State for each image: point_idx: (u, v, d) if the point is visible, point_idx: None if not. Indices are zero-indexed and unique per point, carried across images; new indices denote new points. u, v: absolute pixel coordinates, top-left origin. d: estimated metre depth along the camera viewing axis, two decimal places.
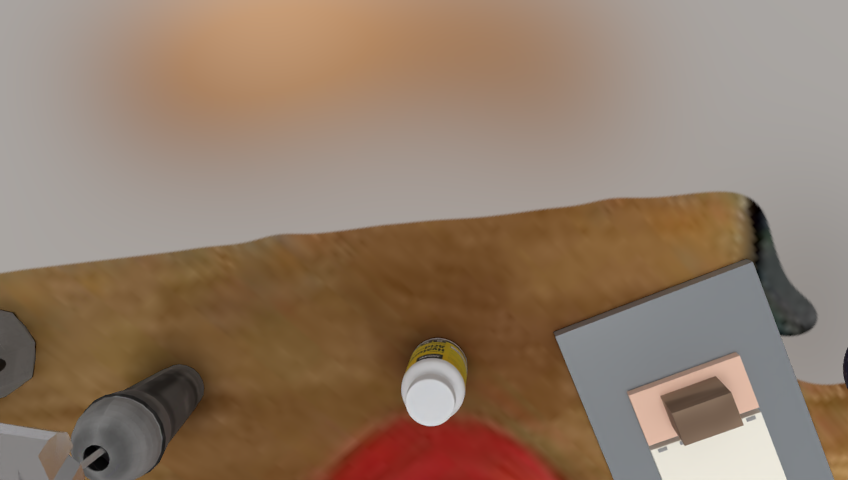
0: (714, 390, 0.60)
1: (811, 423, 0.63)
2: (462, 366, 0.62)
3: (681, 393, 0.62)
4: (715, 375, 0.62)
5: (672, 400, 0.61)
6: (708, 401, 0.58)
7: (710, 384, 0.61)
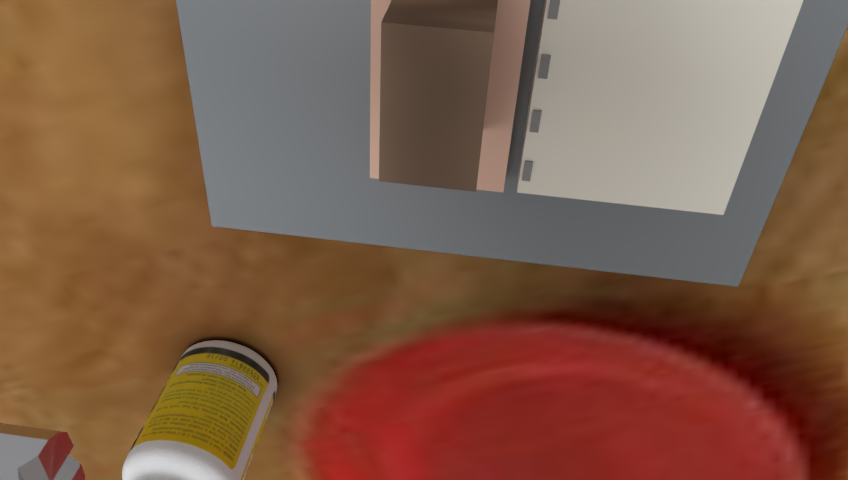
0: None
1: None
2: (187, 400, 0.33)
3: None
4: None
5: None
6: (381, 90, 0.20)
7: None
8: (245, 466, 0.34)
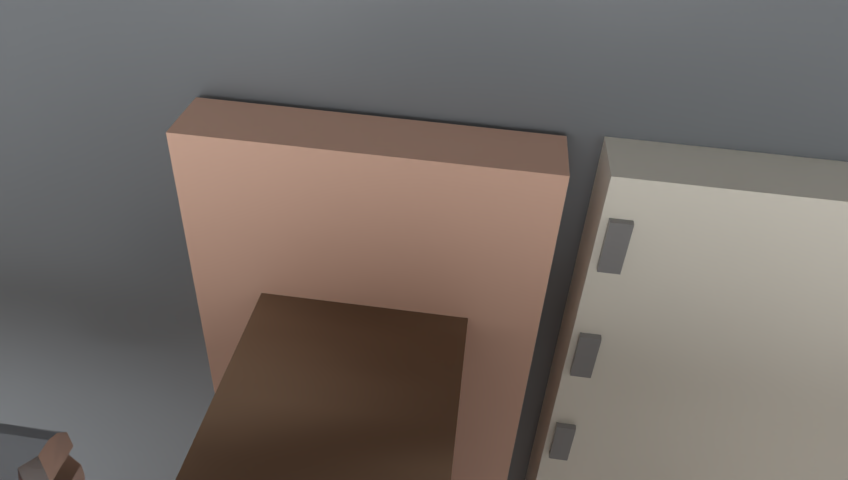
0: None
1: None
2: None
3: None
4: (257, 292, 0.10)
5: None
6: None
7: None
8: None
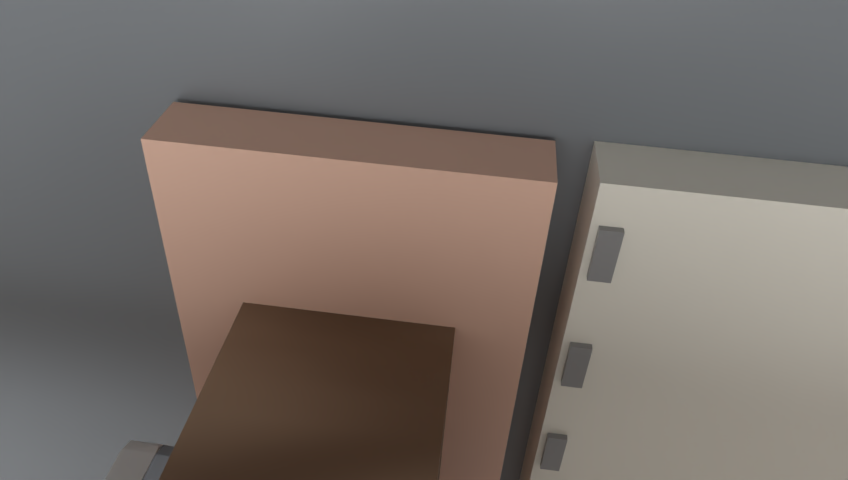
0: None
1: None
2: None
3: None
4: (238, 302, 0.10)
5: None
6: None
7: None
8: None
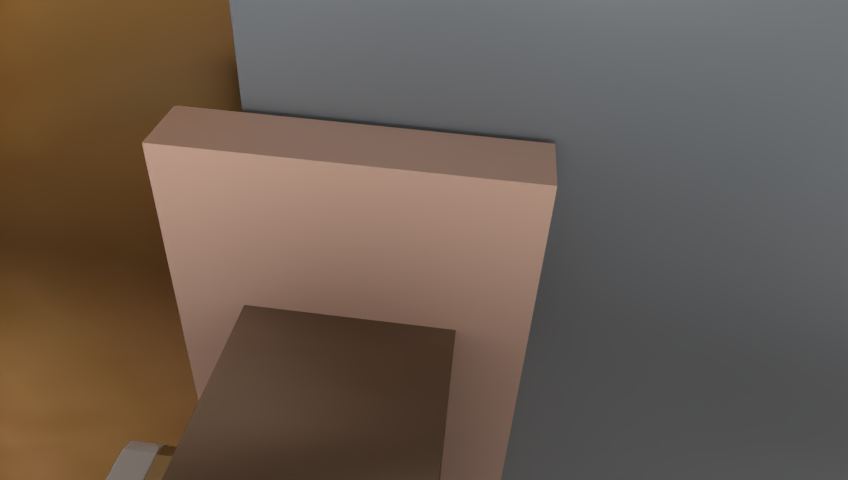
0: None
1: None
2: None
3: None
4: (239, 304, 0.10)
5: None
6: None
7: None
8: None
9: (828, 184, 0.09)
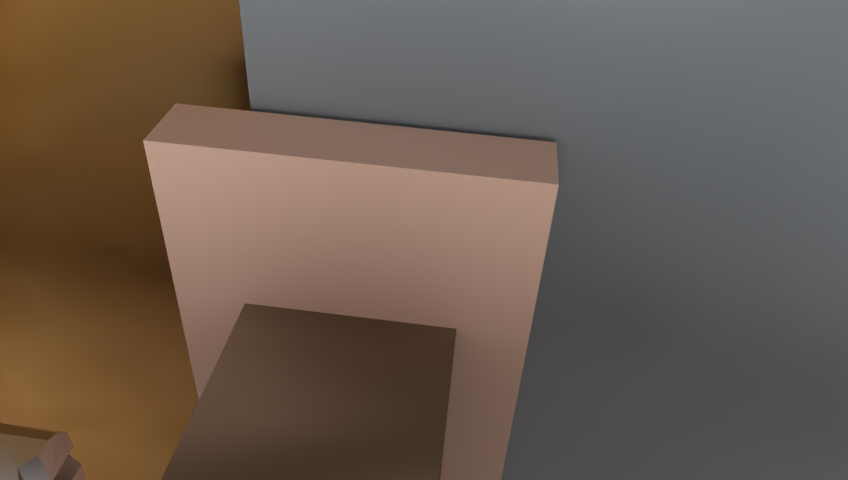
0: None
1: None
2: None
3: None
4: (240, 303, 0.10)
5: None
6: None
7: None
8: None
9: (837, 184, 0.09)
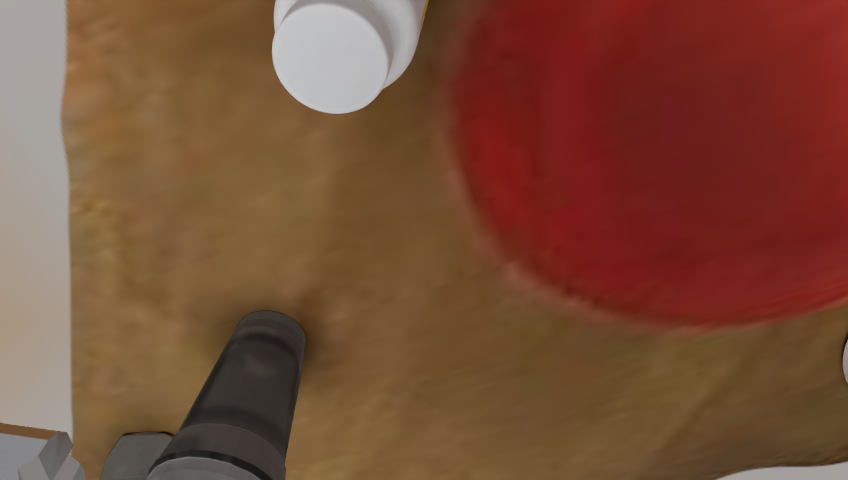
0: None
1: None
2: None
3: None
4: None
5: None
6: None
7: None
8: (422, 17, 0.27)
9: None
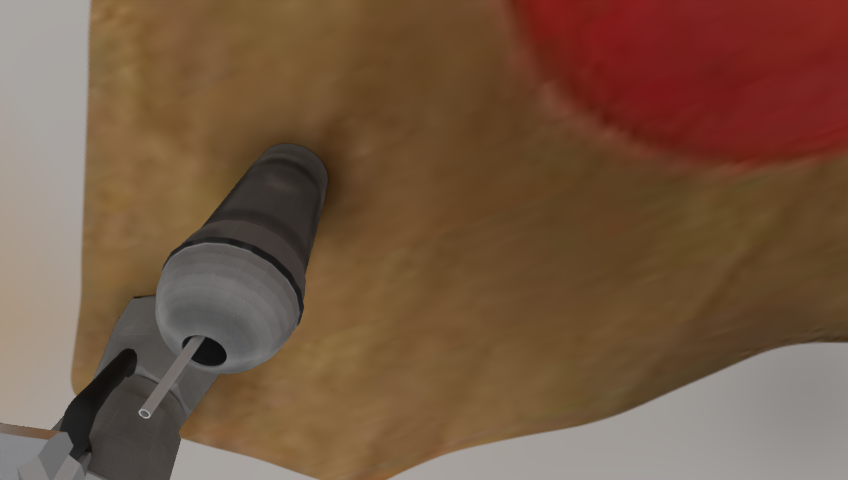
0: None
1: None
2: None
3: None
4: None
5: None
6: None
7: None
8: None
9: None
